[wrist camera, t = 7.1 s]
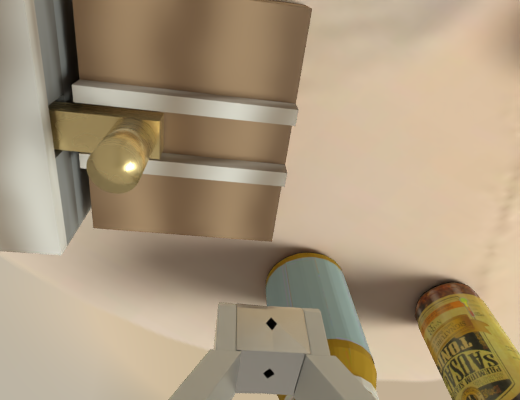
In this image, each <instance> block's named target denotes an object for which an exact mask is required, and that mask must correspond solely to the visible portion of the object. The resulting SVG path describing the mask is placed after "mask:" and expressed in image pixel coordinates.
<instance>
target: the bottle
mask: <svg viewBox="0 0 520 400" xmlns="http://www.w3.org/2000/svg"><path fill="white" fill-rule="evenodd" d="M266 299H267V306H276V307H295V308H312V309H319V310H320V311H321V315H322V320H323V324H324V329H325V333H326V337H327V342H328V346H329V351H330V355H331V356H336V357H337V358H338V359H339V360H340V361H341V362H342V363H343V364H344V366H345V367H346V368H347V369H348V370H349V371H350V372H351V373H352V374H353V375H354V376H355V377H356V378H357V380H358V381H359V382H360V383H361V384H362V385H363V386H364V387H365V388H366V389H367V390H368V391H369V392H370V393H371V395H372V396H373V397H374V398H375V399H376V400H379V397H378V394H377V391H376V378H377V373H376V369H375V366H374V362H373V359H372V356H371V353H370V350H369V347H368V344H367V341H366V338H365V336H364V333H363V330H362V327H361V324H360V321H359V318H358V315H357V312H356V309H355V307H354V304H353V301H352V298H351V295H350V292H349V289H348V286H347V283H346V280H345V278H344V275H343V273H342V270H341V268H340V267H339V265H338V264H337V263H336V262H335V261H334V260H332V259H331V258H329V257H327V256H325V255H322V254H316V253H299V254H295V255H292V256H289V257H287V258H285V259H283V260H282V261H280V262H279V263H277V264H276V265H275V266H274V267H273V269H272V270H271V271H270V272H269V274H268V277H267V280H266ZM277 396H278V398H279V400H295V399H294V395H280V394H277Z"/></svg>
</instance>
